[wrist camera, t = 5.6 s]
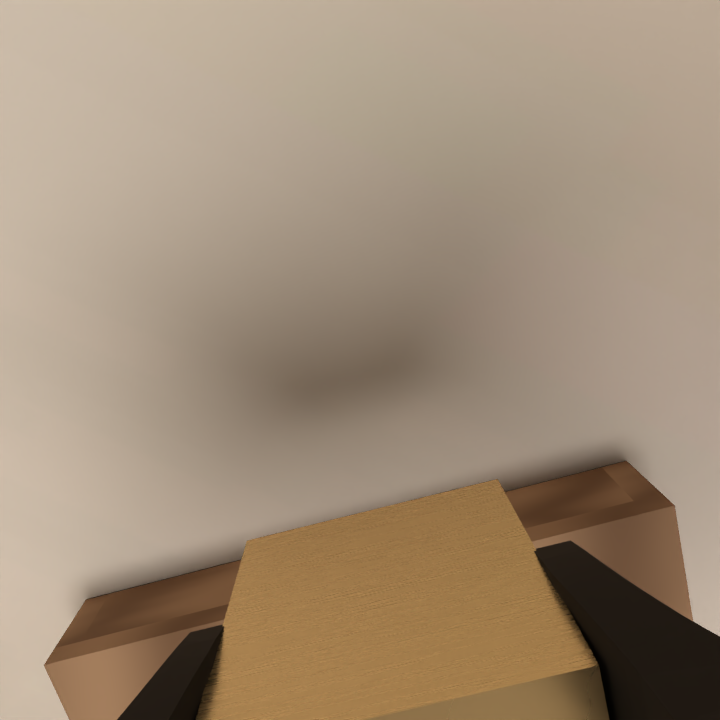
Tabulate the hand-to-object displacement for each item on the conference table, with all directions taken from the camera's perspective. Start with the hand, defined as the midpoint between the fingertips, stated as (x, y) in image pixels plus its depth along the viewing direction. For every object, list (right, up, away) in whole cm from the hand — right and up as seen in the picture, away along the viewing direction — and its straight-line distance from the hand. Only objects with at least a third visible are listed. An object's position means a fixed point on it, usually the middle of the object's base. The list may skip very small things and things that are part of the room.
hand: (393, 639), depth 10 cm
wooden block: (0, +1, +2) cm, 2 cm away
